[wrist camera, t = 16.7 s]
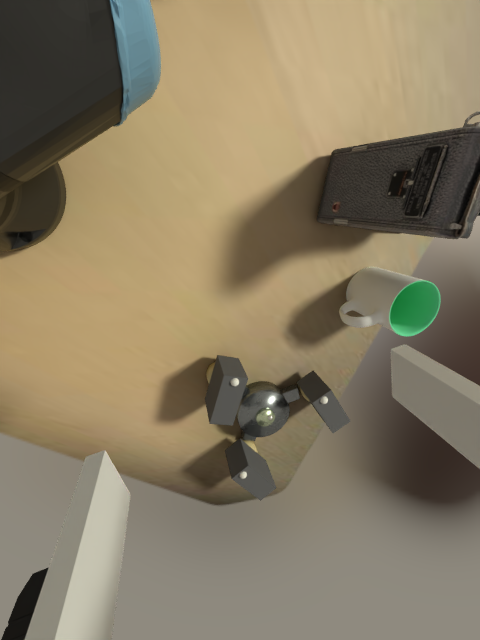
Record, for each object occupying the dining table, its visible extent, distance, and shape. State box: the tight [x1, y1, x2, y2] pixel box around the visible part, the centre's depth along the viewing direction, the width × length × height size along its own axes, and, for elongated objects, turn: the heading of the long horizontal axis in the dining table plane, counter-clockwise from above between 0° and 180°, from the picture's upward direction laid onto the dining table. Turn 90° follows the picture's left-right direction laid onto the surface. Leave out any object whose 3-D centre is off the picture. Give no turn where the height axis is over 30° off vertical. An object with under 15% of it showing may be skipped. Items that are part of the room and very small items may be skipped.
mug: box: [339, 267, 440, 336], centre depth 44 cm, size 12×8×10 cm, turn 113°
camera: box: [317, 112, 480, 239], centre depth 36 cm, size 11×17×20 cm, turn 78°
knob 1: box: [225, 439, 276, 500], centre depth 51 cm, size 4×8×9 cm, turn 38°
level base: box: [236, 381, 300, 441], centre depth 50 cm, size 14×12×5 cm
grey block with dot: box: [205, 355, 248, 426], centre depth 44 cm, size 4×8×9 cm, turn 163°
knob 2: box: [297, 371, 350, 433], centre depth 49 cm, size 4×8×9 cm, turn 33°
